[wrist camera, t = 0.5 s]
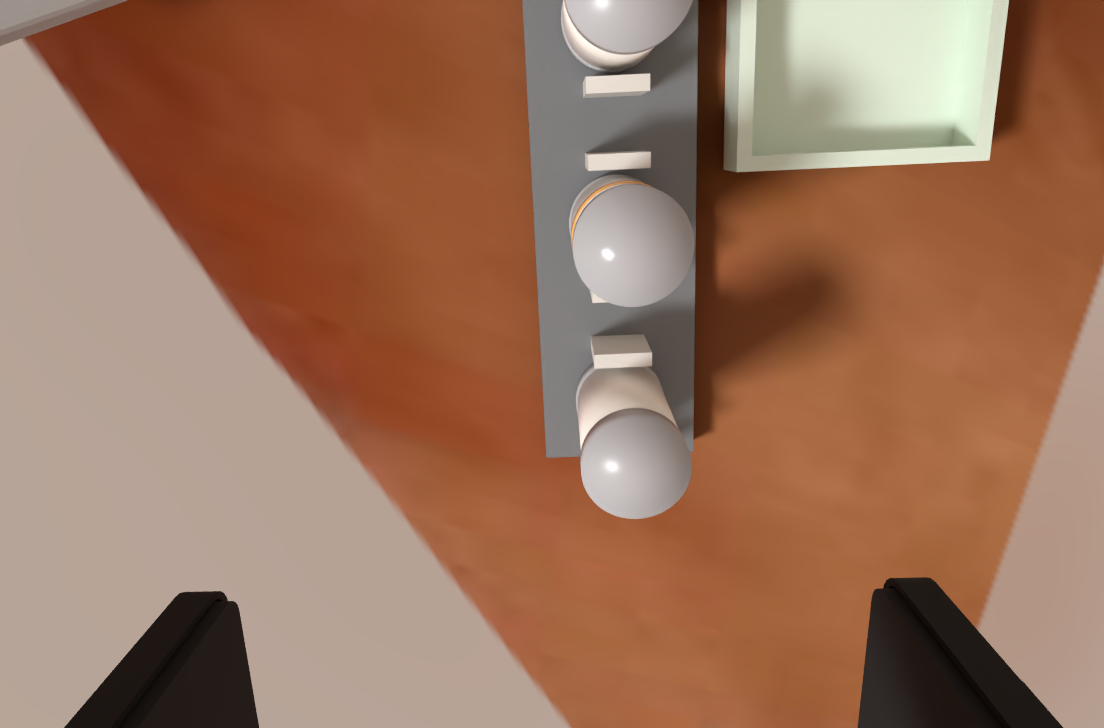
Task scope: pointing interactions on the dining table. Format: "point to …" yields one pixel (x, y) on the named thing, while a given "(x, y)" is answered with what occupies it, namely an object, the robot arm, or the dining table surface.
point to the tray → (860, 82)
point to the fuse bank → (564, 300)
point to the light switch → (42, 15)
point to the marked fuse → (629, 240)
